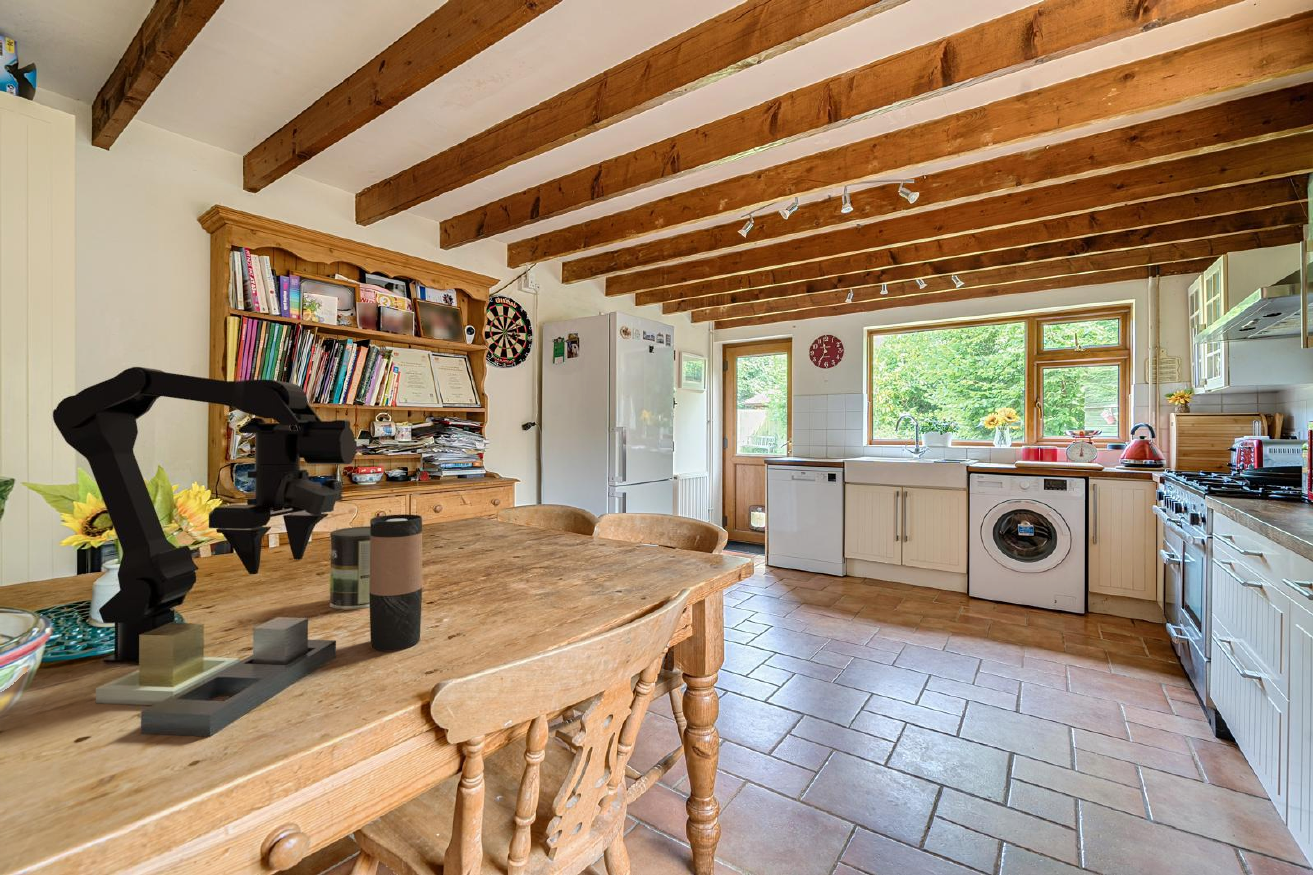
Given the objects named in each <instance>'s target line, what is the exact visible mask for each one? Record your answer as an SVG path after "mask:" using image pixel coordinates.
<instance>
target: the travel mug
mask: <svg viewBox="0 0 1313 875" xmlns="http://www.w3.org/2000/svg"><path fill="white" fill-rule="evenodd" d="M369 523H370V525H369V526H370V579H369V592H370V593H369V600H370V607H369V629H370V630H369V631H370V633H369V634H370V647H371V649H373V650H374V651H378V652H394V651H401V650H404V649H408V648H411V647H413V646H416V645H417V644H419V642H420V640H421V639H420V638H421V623H422V622H421V620H422V600H423V598H422V597H423V517H422V516H421V515H418V514H387V515H379V516H375V517H372V518H371V519H370V521H369Z"/></svg>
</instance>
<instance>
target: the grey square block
mask: <svg viewBox="0 0 1313 875" xmlns="http://www.w3.org/2000/svg"><path fill="white" fill-rule="evenodd" d="M308 635H309V618H307V617H288V616H287V617H286V616H285V617H284V616H283V617H282V616H280V617H279V616H277V617H275V618H273V619H271V620H268V621H266V622H264V623H261V624H259V625H257V626H255V627H253V628H252V655H253V664H265V665H288V664H289V663H291V662H293V661H295V660H296V659H298V658H300V657H302V656H303V655H305V654H307V653H308V640H309V636H308Z"/></svg>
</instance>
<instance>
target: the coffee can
mask: <svg viewBox="0 0 1313 875" xmlns="http://www.w3.org/2000/svg"><path fill="white" fill-rule="evenodd" d="M329 536H330V577H329V578H330V579H329V580H330V581H329V582H330V583H329V587H330V588H329V590H330V591H329V601H330V602H329V606H330V608H333V609H336V610H341V611H342V610H343V611H345V610H346V611H347V610H361V609H370V600H369V593H370V592H369V579H370V525H369V526H368V525H367V526H352V527H345V528H340V529H335V530H332V531H331V532H330V534H329Z"/></svg>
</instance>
